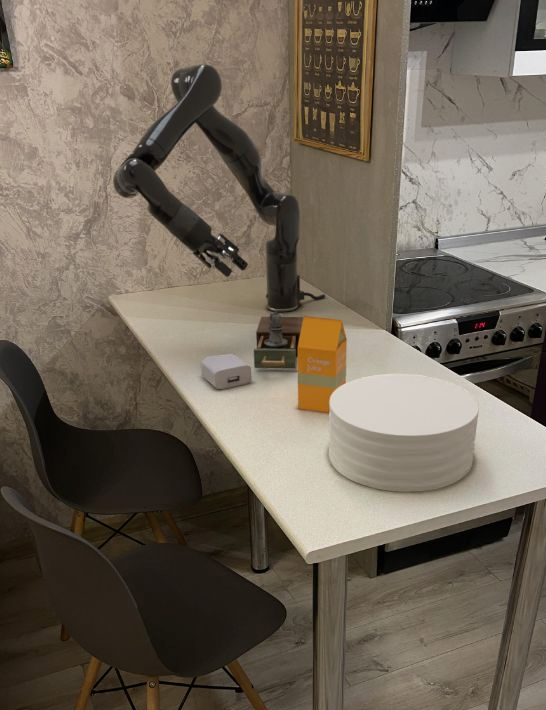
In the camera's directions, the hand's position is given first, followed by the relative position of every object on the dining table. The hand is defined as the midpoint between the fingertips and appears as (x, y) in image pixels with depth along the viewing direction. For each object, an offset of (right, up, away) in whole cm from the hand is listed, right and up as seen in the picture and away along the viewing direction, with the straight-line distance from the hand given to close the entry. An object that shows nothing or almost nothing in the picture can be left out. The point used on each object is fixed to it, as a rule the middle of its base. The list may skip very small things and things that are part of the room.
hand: (237, 271), depth 189 cm
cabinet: (+11, -17, +12) cm, 23 cm away
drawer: (+10, -23, -1) cm, 25 cm away
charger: (-4, -27, -5) cm, 28 cm away
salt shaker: (+10, -21, +1) cm, 23 cm away
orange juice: (+21, -36, -20) cm, 46 cm away
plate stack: (+35, -48, -41) cm, 72 cm away
